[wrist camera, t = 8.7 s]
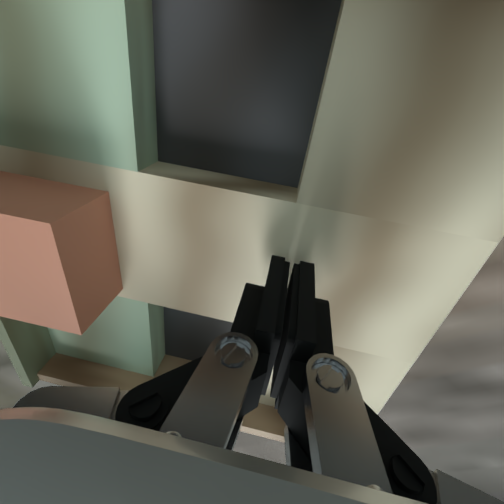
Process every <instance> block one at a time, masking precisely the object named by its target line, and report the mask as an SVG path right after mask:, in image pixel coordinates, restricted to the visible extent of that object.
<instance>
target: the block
mask: <svg viewBox="0 0 504 504" xmlns="http://www.w3.org/2000/svg"><path fill="white" fill-rule="evenodd" d="M122 289H123V285H122V279H121V272H120V265H119V258H118V251H117V245H116V238H115V231H114V224H113V218H112V211H111V204H110V197H109V192H108V191H103V190H98V189H93V188H87V187H82V186H77V185H72V184H67V183H61V182H56V181H51V180H46V179H41V178H35V177H30V176H25V175H20V174H15V173H9V172H4V171H0V316H1V317H6V318H10V319H14V320H18V321H23V322H27V323H31V324H35V325H40V326H44V327H48V328H52V329H57V330H61V331H65V332H70V333H74V334H78V335H82V334H83V333H84V332H85V331H86V330H87V329H88V327H89V326H90V325H91V324H92V323H93V322H94V321H95V320H96V319H97V317H98V316H99V315H100V314H101V313H102V312H103V311H104V310H105V308H106V307H107V306H108V305H109V304H110V303H111V302H112V301H113V300H114V298H115V297H116V296H117V295H118V294H119V293H120V292H121V291H122Z"/></svg>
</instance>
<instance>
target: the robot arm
mask: <svg viewBox="0 0 504 504" xmlns="http://www.w3.org/2000/svg"><path fill="white" fill-rule="evenodd" d="M289 268H290V262H287V261H285V257H281V256H276V255H272V257H271V262H270V266H269V271H268V275H267V280H266V284H265V287H264V286H260V285H255V284H251V283H246V284H245V287H244V290H243V293H242V296H241V299H240V303H239V306H238V309H237V312H236V315H235V318H234V321H233V324H232V327H231V331H230V332H227V333H224V334H221V335H219V336H218V337H216V338H215V339H214V340H213V341H212V342H211V344H210V346H209V347H208V349H207V351H206V353H205V354H204V356H202V357H199V358H197V359H195V360H193V361H191V362H188V363H186V364H184V365H182V366H180V367H177V368H175V369H173V370H171V371H169V372H166V373H164V374H162V375H160V376H158V377H155V378H153V379H151V380H149V381H147V382H144V383H142V384H140V385H138V386H136V387H134V388H133V389H131V390H129V391H120V387H85V386H48V387H41V388H38V389H36V390H34V391H31V392H29V393H28V394H27V395H25V396H24V397H22V398H21V399H20V400H19V401H18V402H17V403H16V404H15V406H14V407H13V408H6V409H0V504H504V502H503V501H501V500H499V499H497V498H495V497H493V496H491V495H489V494H486V493H484V492H482V491H480V490H478V489H476V488H474V487H472V486H470V485H468V484H466V483H464V482H462V481H460V480H458V479H456V478H454V477H452V476H450V475H448V474H446V473H444V472H442V471H440V470H438V469H436V470H435V471H434V472H433V471H431V470H429V469H428V468H427V467H426V465H425V464H424V463H423V462H422V461H421V459H420V458H419V457H418V456H417V455H416V454H415V453H414V452H413V451H412V450H411V449H410V448H409V447H408V446H407V445H406V444H405V443H404V442H403V441H402V440H401V439H400V438H399V437H398V435H397V434H396V433H395V432H394V431H393V430H392V429H391V428H390V427H389V426H388V425H387V424H386V423H385V422H384V421H383V420H382V419H381V418H380V417H379V416H378V415H377V414H376V413H375V412H374V411H373V410H372V409H371V408H370V407H369V406H368V405H367V404H366V403H365V402H364V401H363V398H362V395H361V391H360V388H359V385H358V382H357V379H356V376H355V374H354V372H353V370H352V369H351V368H350V366H349V365H348V364H347V363H346V362H344V361H343V360H342V359H341V358H339V357H336V356H334V351H333V339H332V328H331V317H330V305H329V301H328V300H324V299H319V298H315V265H314V263H309V262H304V261H300V263H299V264H296V263H294V265H293V269H292V273H291V277H290V281H289V284H288V277H289ZM287 286H288V288H287ZM273 366H274V367H273ZM272 370H273V375H272V383H271V391H270V397H272V398H275V407H274V409H278V410H277V412H278V414H279V415H280V416H281V418H282V419H283V421H284V422H285V423H284V439H285V455H286V465H284V464H280V463H276V462H272V461H269V460H265V459H261V458H257V457H254V456H250V455H246V454H242V453H239V452H235V451H233V448H234V445H235V443H236V440H237V437H238V434H239V431H240V429H241V426H242V423H243V420H244V416H245V415H246V414H247V413H249V412H251V411H252V410H254V409H255V408H257V407H258V404H259V400H260V396H261V395H264V396H265V394H266V391H267V387H268V384H269V380H270V377H271V373H272Z"/></svg>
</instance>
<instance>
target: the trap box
mask: <svg viewBox="0 0 504 504" xmlns="http://www.w3.org/2000/svg"><path fill="white" fill-rule="evenodd" d="M0 171H4V172H9V173H15V174H20V175H25V176H30V177H35V178H41V179H46V180H51V181H56V182H61V183H67V184H72V185H77V186H82V187H87V188H93V189H98V190H103V191H108V192H109V197H110V204H111V211H112V218H113V224H114V231H115V238H116V245H117V251H118V258H119V265H120V272H121V279H122V285H123V289H122V291H121V292H120V293H119V294H118V295H117V296H116V297H115V298H114V300H113V301H112V302H111V303H110V304H109V305H108V306H107V307H106V308H105V310H104V311H103V312H102V313H101V314H100V315H99V316H98V317H97V319H96V320H95V321H94V322H93V323H92V324H91V325H90V326H89V327H88V329H87V330H86V331H85V332H84V333H83V334H82V335H78V334H74V333H70V332H65V331H61V330H57V329H52V328H48V327H44V326H40V325H35V324H31V323H27V322H23V321H18V320H14V319H10V318H6V317H1V316H0V340H1V342H2V344H3V346H4V348H5V350H6V352H7V354H8V356H9V358H10V360H11V362H12V364H13V366H14V368H15V370H16V372H17V374H18V376H19V378H20V380H21V382H22V384H23V385H25V386H29V387H34V385H35V384H36V383H37V382H38V381H39V380H42V381H46V382H50V383H54V384H58V385H62V386H85V387H120V391H129V390H131V389H133V388H134V387H136V386H138V385H140V384H142V383H144V382H147V381H149V380H151V379H153V378H155V377H158V376H160V375H162V374H164V373H166V372H169V371H171V370H173V369H175V368H177V367H180V366H182V365H184V364H186V363H188V362H191V361H193V360H195V359H197V358H199V357H202V356H204V354H205V353H206V351H207V349H208V347H209V346H210V344H211V342H212V341H213V340H214V339H215V338H216V337H218V336H219V335H221V334H224V333H227V332H230V331H231V327H232V324H233V321H234V318H235V315H236V312H237V309H238V306H239V303H240V299H241V296H242V293H243V290H244V287H245V284H246V283H251V284H255V285H260V286H264V287H265V284H266V280H267V275H268V271H269V266H270V262H271V257H272V255H276V256H281V257H285V261H287V262H290V268H289V277H288V284H289V281H290V277H291V273H292V269H293V265H294V263H296V264H299V263H300V261H304V262H309V263H314V265H315V298H319V299H324V300H328V301H329V305H330V317H331V328H332V339H333V351H334V356H336V357H339V358H341V359H342V360H343V361H344V362H346V363H347V364H348V365H349V366H350V368H351V369H352V370H353V372H354V374H355V376H356V379H357V382H358V385H359V388H360V391H361V395H362V398H363V401H364V402H365V403H366V404H367V405H368V406H369V407H370V408H371V409H372V410H373V411H374V412H375V413H376V414H377V415H378V413H379V412H380V410H381V409H382V408H383V406H384V405H385V403H386V402H387V401H388V399H389V398H390V396H391V395H392V393H393V392H394V391H395V389H396V388H397V386H398V385H399V384H400V382H401V381H402V379H403V378H404V376H405V375H406V374H407V372H408V371H409V369H410V368H411V367H412V365H413V364H414V362H415V361H416V359H417V358H418V357H419V355H420V354H421V352H422V351H423V350H424V348H425V347H426V345H427V344H428V342H429V341H430V340H431V338H432V337H433V335H434V334H435V333H436V331H437V330H438V328H439V327H440V325H441V324H442V323H443V321H444V320H445V318H446V317H447V315H448V314H449V313H450V311H451V310H452V308H453V307H454V306H455V304H456V303H457V301H458V300H459V298H460V297H461V296H462V294H463V293H464V291H465V290H466V289H467V287H468V286H469V284H470V283H471V281H472V280H473V279H474V277H475V276H476V274H477V273H478V272H479V270H480V269H481V267H482V266H483V264H484V263H485V262H486V260H487V259H488V257H489V256H490V255H491V253H492V252H493V250H494V249H495V247H496V246H497V245H498V243H499V242H500V240H501V239H502V238H503V236H504V0H0ZM287 288H288V286H287ZM273 367H274V366H273ZM272 375H273V370H272V373H271V377H270V380H269V384H268V387H267V391H266V394H265V396H264V395H261V396H260V400H259V404H258V407H257V408H255V409H254V410H252V411H251V412H249V413H247V414H246V415H245V416H244V420H243V423H242V426H241V429H240V431H241V432H245V433H249V434H253V435H257V436H261V437H265V438H269V439H273V440H277V441H280V442H284V443H285V439H284V423H285V422H284V421H283V419H282V418H281V416H280V415H279V414H278V412H277V410H278V409H274V407H275V398H272V397H270V391H271V383H272Z"/></svg>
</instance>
